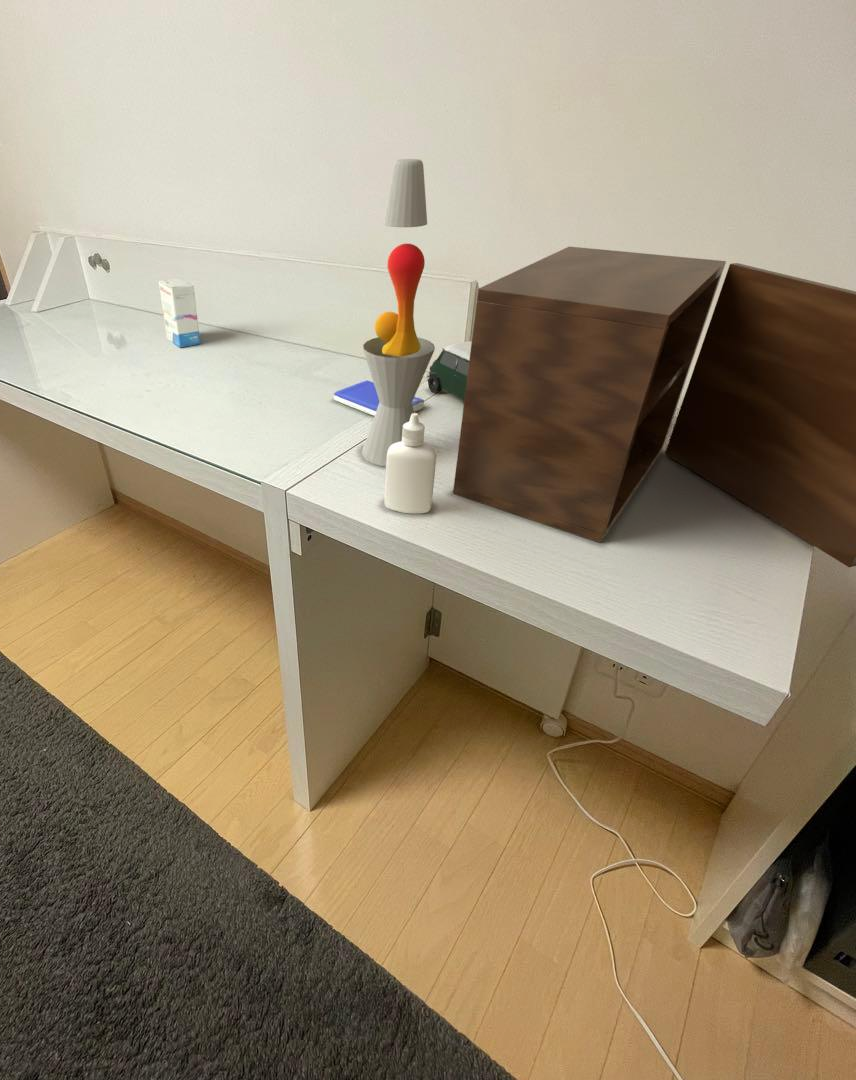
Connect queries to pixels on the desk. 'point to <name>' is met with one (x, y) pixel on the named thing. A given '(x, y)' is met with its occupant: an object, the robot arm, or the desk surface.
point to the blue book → (366, 398)
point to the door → (778, 405)
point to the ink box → (179, 312)
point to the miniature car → (451, 370)
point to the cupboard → (578, 381)
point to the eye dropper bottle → (410, 471)
